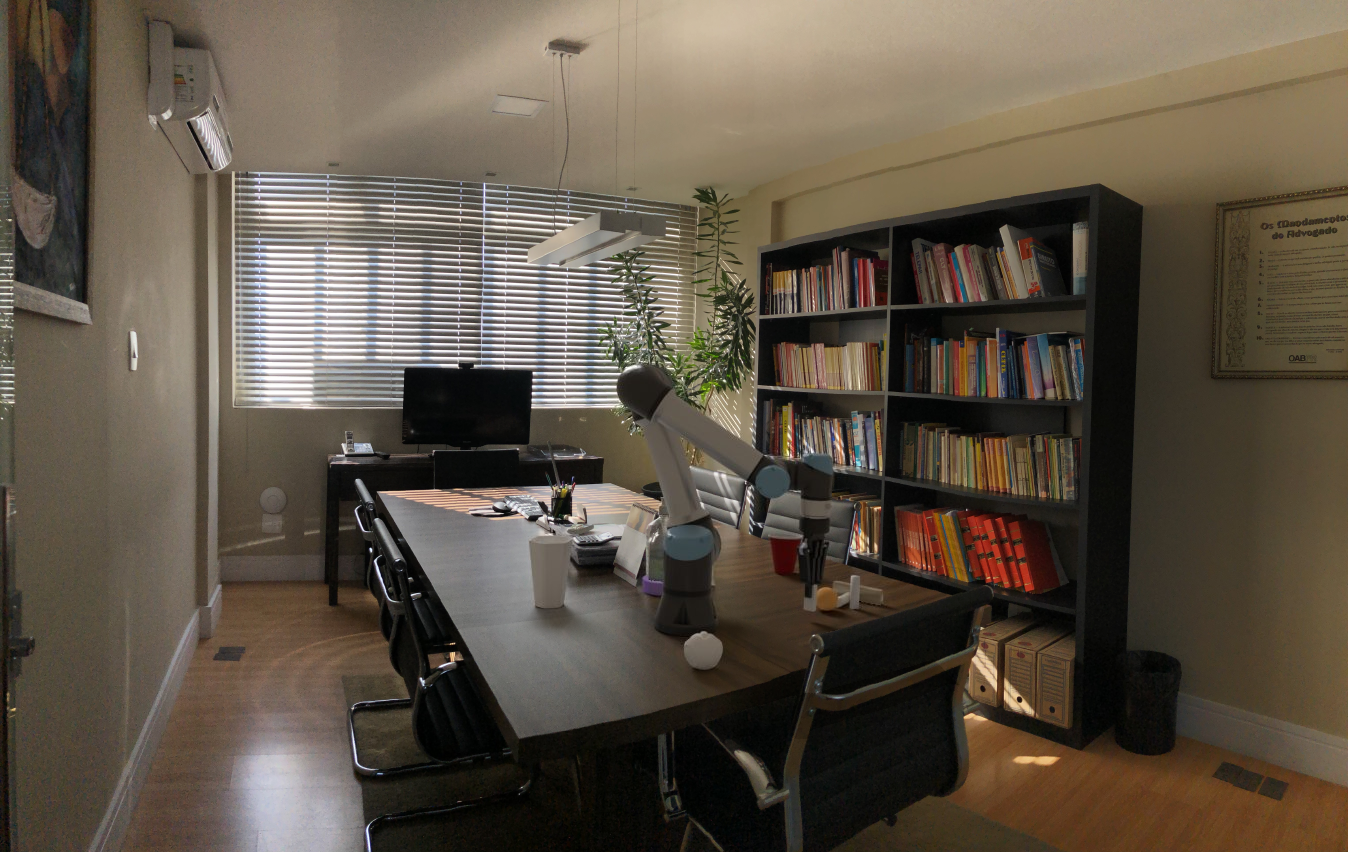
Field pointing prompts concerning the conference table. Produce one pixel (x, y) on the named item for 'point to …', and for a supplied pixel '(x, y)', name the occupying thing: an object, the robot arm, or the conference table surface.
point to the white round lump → (703, 650)
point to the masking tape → (652, 586)
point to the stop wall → (865, 594)
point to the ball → (826, 599)
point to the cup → (550, 569)
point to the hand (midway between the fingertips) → (809, 609)
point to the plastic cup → (784, 552)
